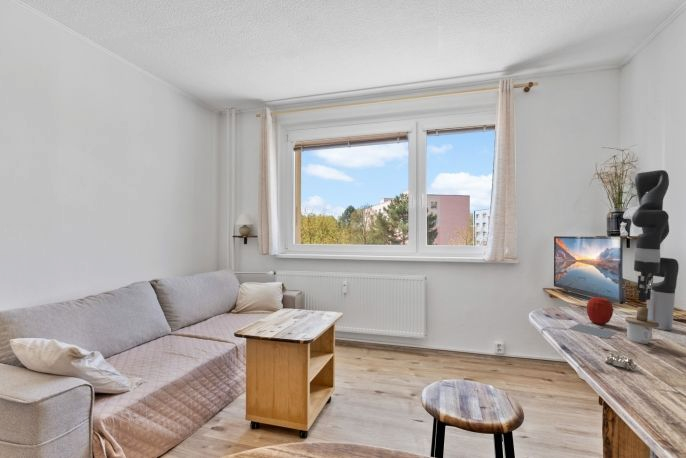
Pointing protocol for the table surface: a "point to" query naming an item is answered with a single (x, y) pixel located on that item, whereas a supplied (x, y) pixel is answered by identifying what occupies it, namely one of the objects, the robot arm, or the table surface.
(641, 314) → the lid
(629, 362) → the ornament
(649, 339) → the cup
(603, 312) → the apple
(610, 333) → the mat
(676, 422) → the table surface
